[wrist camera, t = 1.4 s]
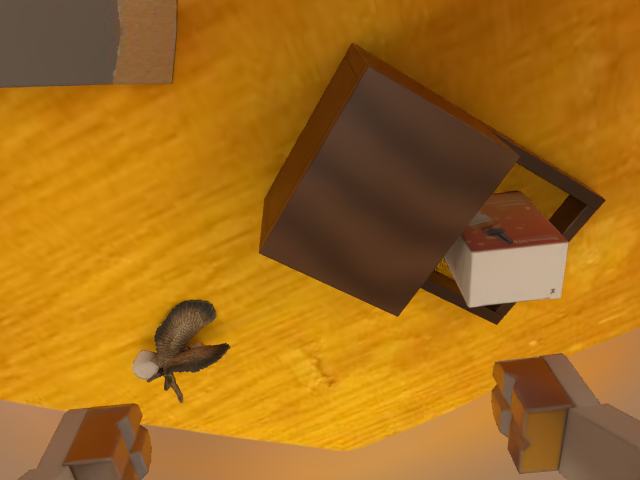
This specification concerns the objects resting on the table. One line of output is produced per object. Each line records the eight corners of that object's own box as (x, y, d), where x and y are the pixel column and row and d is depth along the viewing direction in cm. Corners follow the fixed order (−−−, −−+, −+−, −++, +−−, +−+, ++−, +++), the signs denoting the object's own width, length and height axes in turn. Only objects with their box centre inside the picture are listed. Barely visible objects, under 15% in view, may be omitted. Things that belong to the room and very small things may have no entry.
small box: (521, 189, 51) (572, 241, 42) (516, 240, 54) (563, 299, 44) (438, 198, 51) (471, 251, 42) (437, 249, 54) (468, 309, 44)
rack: (352, 42, 44) (369, 65, 35) (589, 187, 51) (656, 238, 42) (264, 198, 50) (258, 253, 41) (487, 308, 57) (525, 375, 48)
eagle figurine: (207, 385, 59) (248, 342, 54) (159, 418, 53) (200, 373, 48) (166, 333, 60) (202, 286, 56) (114, 359, 54) (151, 309, 50)
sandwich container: (173, 87, 45) (125, 141, 32) (-20, 55, 43) (-157, 98, 30) (179, -25, 41) (126, -16, 28) (-33, -66, 39) (-198, -78, 26)
